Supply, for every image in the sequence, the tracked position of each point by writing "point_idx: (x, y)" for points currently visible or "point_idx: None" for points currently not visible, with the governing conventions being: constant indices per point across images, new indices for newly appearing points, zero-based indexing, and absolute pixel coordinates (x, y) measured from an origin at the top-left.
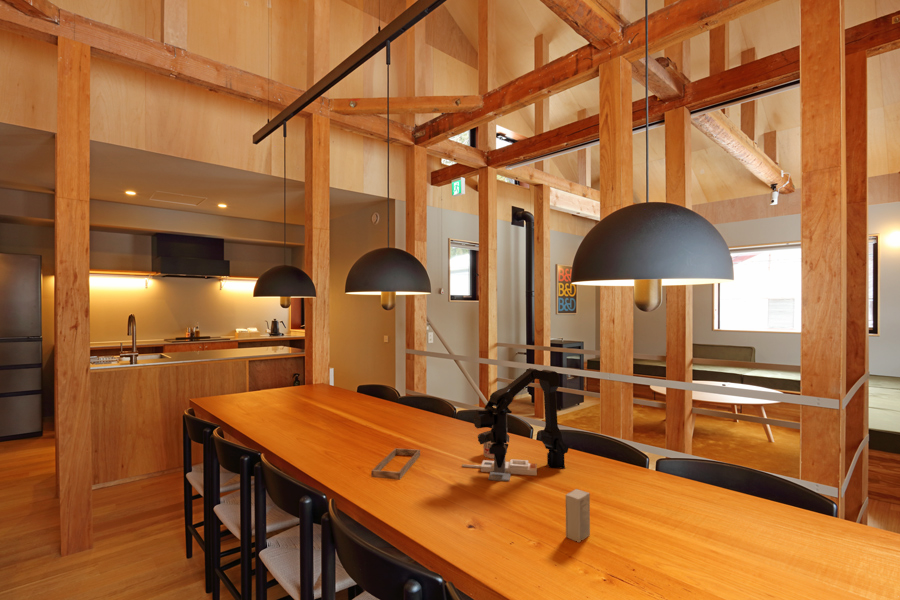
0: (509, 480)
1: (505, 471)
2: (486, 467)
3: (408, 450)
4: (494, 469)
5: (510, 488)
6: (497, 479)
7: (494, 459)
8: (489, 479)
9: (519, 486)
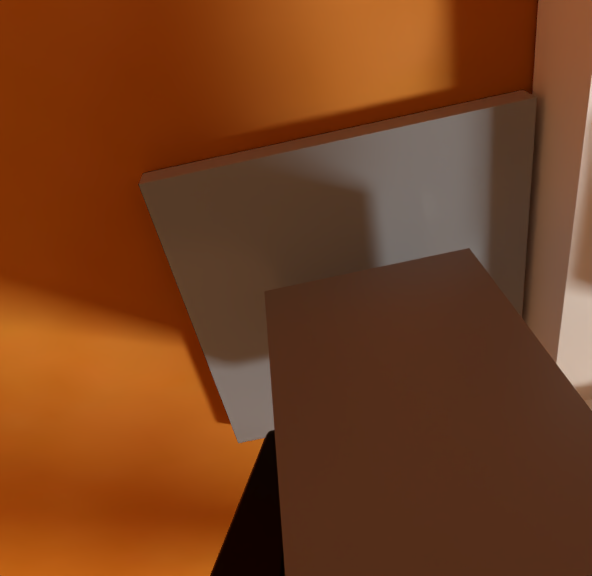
0: (238, 436)
1: (531, 327)
2: (589, 2)
3: None
4: (270, 329)
5: (40, 484)
6: (191, 314)
7: (288, 533)
8: (147, 195)
9: (153, 525)
